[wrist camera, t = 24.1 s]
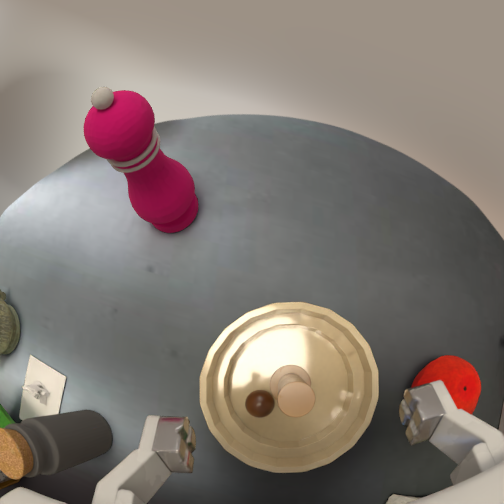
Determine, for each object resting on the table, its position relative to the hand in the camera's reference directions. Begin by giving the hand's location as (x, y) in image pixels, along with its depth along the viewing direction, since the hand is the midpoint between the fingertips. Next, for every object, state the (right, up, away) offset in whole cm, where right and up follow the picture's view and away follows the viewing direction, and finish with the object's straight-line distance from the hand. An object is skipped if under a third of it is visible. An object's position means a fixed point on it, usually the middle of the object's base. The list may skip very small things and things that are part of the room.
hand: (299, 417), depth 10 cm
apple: (+18, -6, +11) cm, 22 cm away
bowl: (+2, -7, +20) cm, 21 cm away
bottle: (-20, -15, +19) cm, 32 cm away
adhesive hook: (-29, -13, +20) cm, 38 cm away
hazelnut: (-1, -8, +17) cm, 19 cm away
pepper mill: (-11, +11, +27) cm, 32 cm away
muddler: (+2, -7, +19) cm, 21 cm away
